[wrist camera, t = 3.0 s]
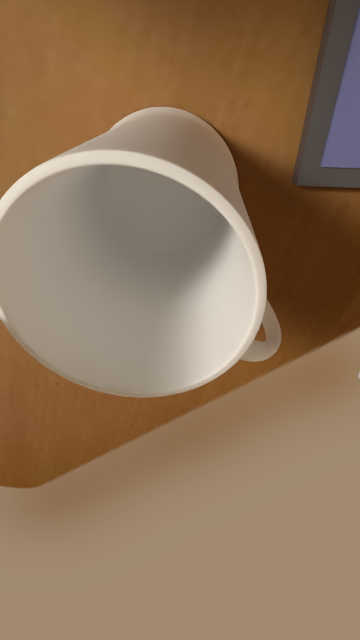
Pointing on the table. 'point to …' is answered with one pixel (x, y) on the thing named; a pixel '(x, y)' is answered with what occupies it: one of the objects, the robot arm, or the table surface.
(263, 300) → the mug
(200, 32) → the table surface
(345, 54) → the ink pad
